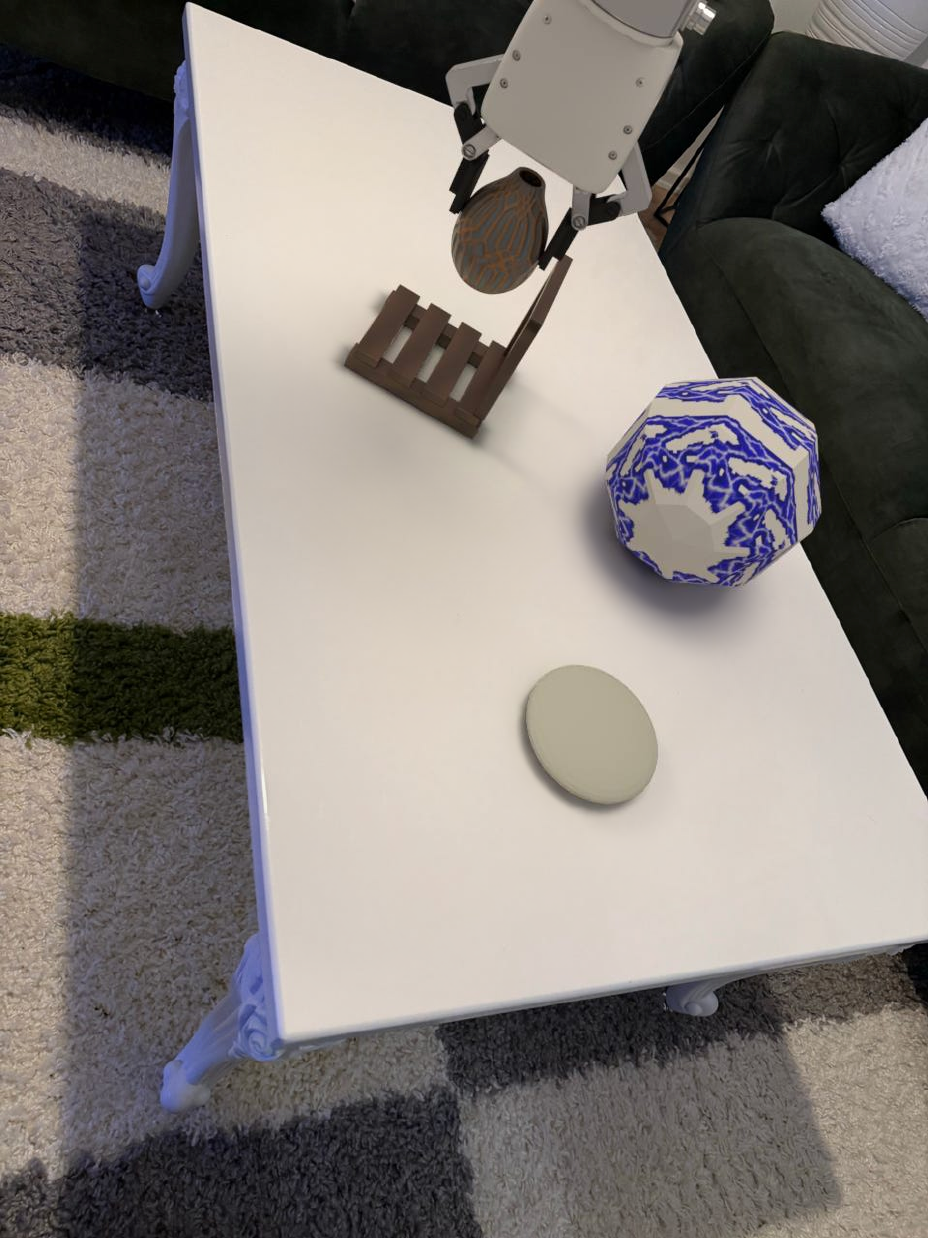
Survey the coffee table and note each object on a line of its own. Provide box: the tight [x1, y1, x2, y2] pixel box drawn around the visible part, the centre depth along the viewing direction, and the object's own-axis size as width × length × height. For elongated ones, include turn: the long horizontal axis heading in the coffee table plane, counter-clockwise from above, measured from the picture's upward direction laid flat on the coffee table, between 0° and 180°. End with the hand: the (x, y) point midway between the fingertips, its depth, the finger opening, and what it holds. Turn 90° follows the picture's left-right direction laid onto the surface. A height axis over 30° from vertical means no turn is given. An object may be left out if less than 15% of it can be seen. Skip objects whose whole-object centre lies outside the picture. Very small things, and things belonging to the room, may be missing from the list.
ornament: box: [604, 376, 822, 588], centre depth 82 cm, size 20×20×20 cm
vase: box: [450, 166, 550, 295], centre depth 66 cm, size 7×7×9 cm
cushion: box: [525, 664, 659, 805], centre depth 71 cm, size 12×12×3 cm
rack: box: [343, 253, 574, 440], centre depth 82 cm, size 14×12×15 cm
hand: (502, 231), depth 66 cm, fingers closed on vase, 6 cm apart
